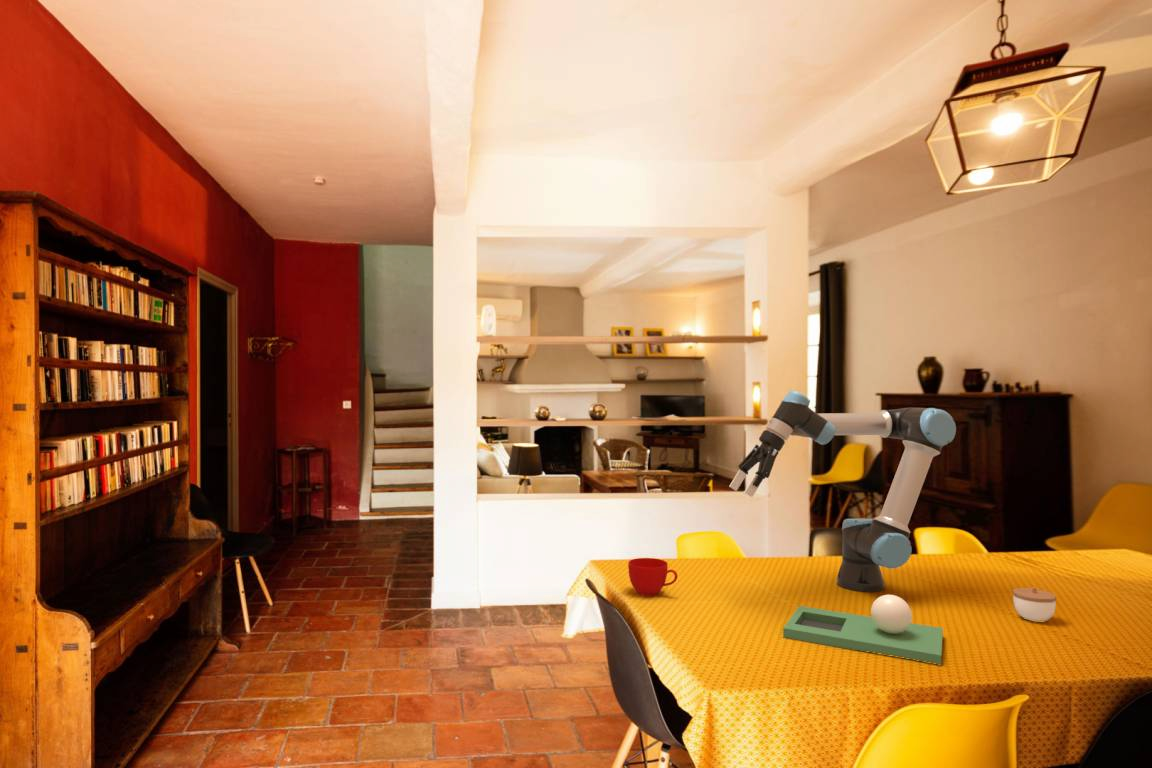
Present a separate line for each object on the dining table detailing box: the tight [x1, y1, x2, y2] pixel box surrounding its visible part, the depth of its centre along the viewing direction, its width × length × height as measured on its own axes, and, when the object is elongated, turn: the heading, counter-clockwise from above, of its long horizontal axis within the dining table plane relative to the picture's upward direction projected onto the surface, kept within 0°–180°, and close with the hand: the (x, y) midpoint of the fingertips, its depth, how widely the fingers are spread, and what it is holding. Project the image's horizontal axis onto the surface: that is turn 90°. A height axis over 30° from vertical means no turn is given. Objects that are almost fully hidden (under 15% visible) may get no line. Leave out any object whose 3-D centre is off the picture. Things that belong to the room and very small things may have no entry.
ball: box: [870, 594, 913, 634], centre depth 183 cm, size 10×10×10 cm
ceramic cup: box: [627, 557, 678, 597], centre depth 225 cm, size 13×17×10 cm
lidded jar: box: [1012, 586, 1057, 622], centre depth 202 cm, size 11×11×9 cm
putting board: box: [782, 605, 944, 665], centre depth 187 cm, size 38×22×2 cm, turn 61°
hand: (740, 491), depth 216 cm, fingers open, 13 cm apart
